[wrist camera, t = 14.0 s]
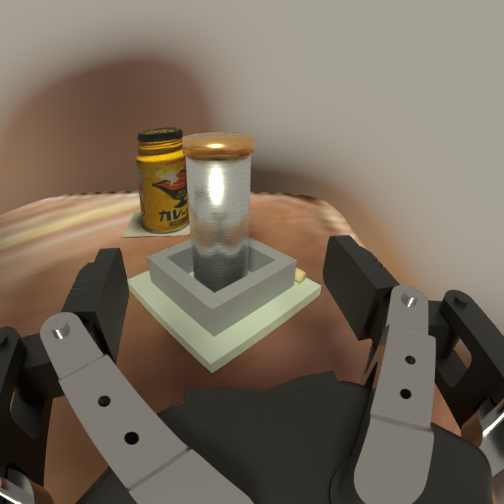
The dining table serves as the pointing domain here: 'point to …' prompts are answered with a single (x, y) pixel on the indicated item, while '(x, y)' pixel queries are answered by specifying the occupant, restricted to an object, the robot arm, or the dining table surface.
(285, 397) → the robot arm
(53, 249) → the dining table surface
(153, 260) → the dock
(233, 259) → the glass storage jar
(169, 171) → the condiment
